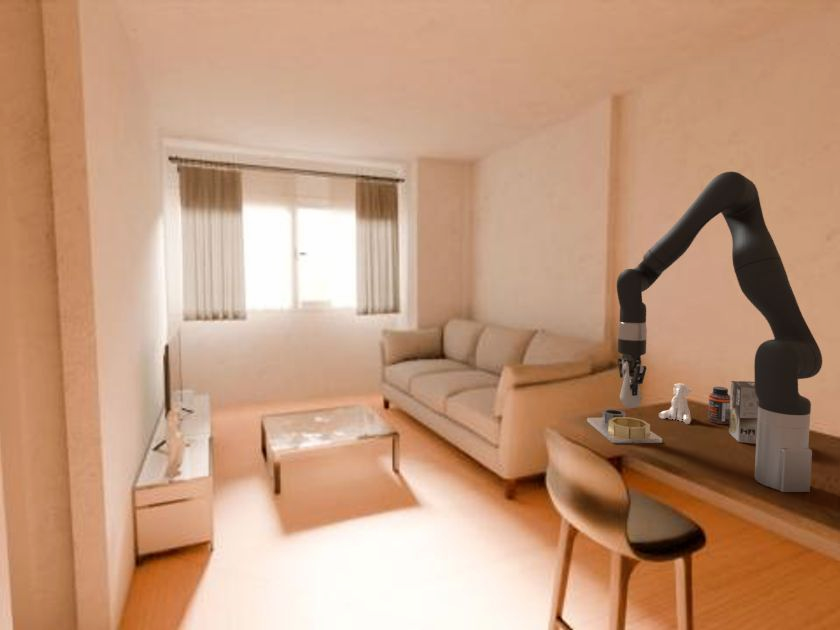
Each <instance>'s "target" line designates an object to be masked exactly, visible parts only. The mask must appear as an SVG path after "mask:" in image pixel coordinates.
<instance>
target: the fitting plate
mask: <svg viewBox="0 0 840 630" xmlns="http://www.w3.org/2000/svg"><path fill="white" fill-rule="evenodd" d="M601 414H602V416H601V417H587V418H586V421H587V423H588V424H590V425H591V427H593V428H594V429H595V430H597V431H598V432H599V433H600V434H601V435H602V436H604V438H606V439H607V440H608V441H610V443H612V444H662V443H663V438H662V437H660V436H659V435H658V434H656V433H654V432H653V431H651V424H650V423H648V422H647V421H645V420H643V419H639V418H635V417H628V416H627V415H626V414H627V413H626V412H625V411H623V410H619V409H614V408H612V409H610V408H609V409H608V408H607V409H604V410H602V412H601ZM626 416H627V417H626ZM632 442H634V443H632Z"/></svg>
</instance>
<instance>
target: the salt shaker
mask: <svg viewBox="0 0 840 630" xmlns="http://www.w3.org/2000/svg"><path fill="white" fill-rule="evenodd" d="M623 369H624V370H625V371H626V373H625V377H624V381H623V380H622V381H623V382H622V386H621V389H620V394H619V399H620V401H621V404H622V406H623V407H625V408H629V409H631V408H632V409H636V408H638V407H639V406H640V404H641V402H642V399H643V398H642V393H641V387H640V384H639V385H638V391H637V396H632V388H631V390H630V384H629V377H628V376H627V366H626V363H624V365H623ZM631 374H634V373H631ZM632 379H633V377H632ZM634 388H635V387H634ZM634 394H635V392H634Z"/></svg>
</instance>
